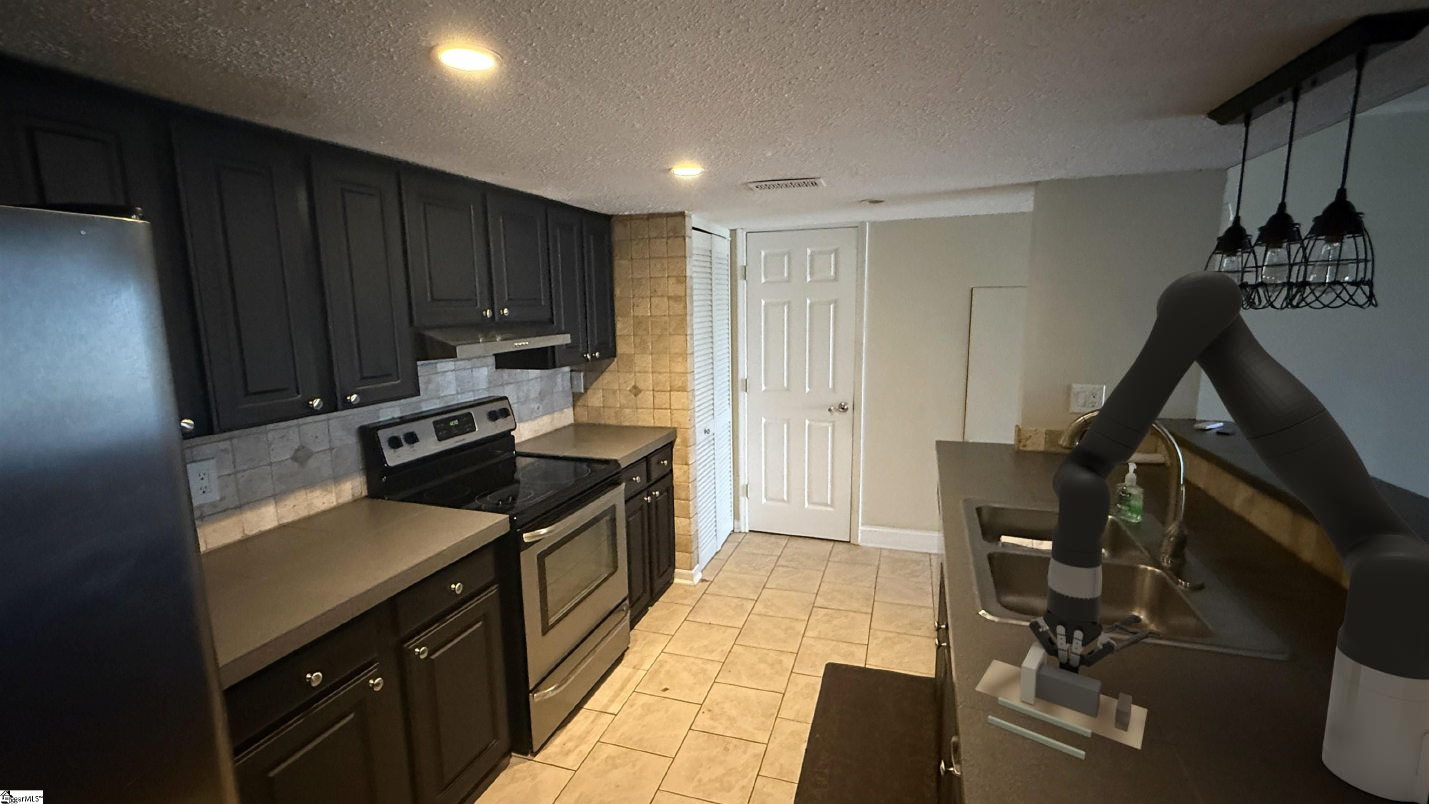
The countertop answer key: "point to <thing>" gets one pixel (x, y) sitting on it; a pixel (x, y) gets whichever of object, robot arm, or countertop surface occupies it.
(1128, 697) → the flat beige board
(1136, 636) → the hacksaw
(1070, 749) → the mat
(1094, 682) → the long gray brick
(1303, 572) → the countertop surface
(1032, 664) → the strap
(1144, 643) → the countertop surface
